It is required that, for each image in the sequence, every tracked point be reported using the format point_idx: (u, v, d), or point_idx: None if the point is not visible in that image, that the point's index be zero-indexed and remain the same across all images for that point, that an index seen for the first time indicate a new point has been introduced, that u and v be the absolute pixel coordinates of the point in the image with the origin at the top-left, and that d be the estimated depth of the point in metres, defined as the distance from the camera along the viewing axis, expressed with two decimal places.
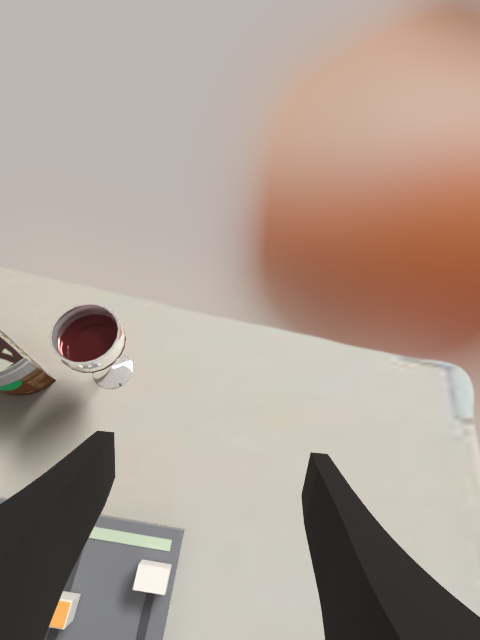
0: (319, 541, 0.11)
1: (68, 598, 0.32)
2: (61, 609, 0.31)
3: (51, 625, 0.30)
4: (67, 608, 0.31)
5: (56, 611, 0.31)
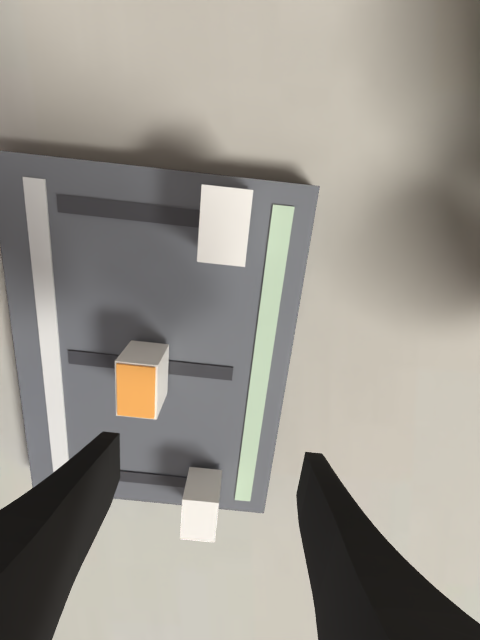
0: (313, 540, 0.11)
1: (159, 403, 0.17)
2: (142, 407, 0.17)
3: (118, 396, 0.17)
4: (145, 413, 0.17)
5: (138, 400, 0.17)
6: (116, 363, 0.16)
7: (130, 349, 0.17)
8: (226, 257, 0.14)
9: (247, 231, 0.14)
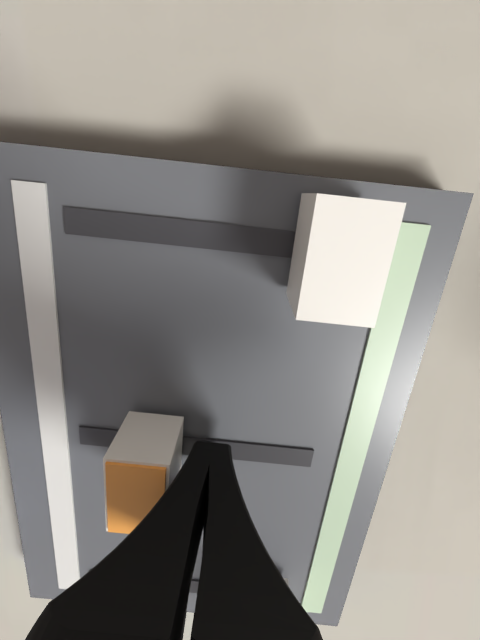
0: (204, 530, 0.11)
1: None
2: None
3: (109, 507, 0.11)
4: None
5: (139, 513, 0.11)
6: (105, 461, 0.10)
7: (127, 430, 0.12)
8: (345, 313, 0.09)
9: (386, 271, 0.08)
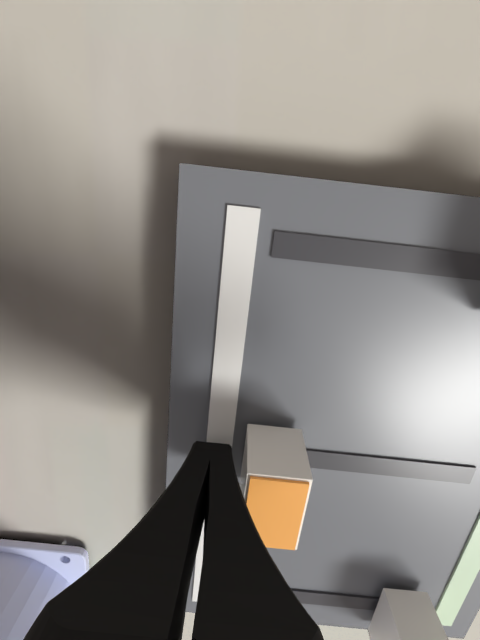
0: (205, 530, 0.11)
1: None
2: (280, 535, 0.11)
3: None
4: (281, 542, 0.11)
5: (276, 526, 0.11)
6: (249, 476, 0.11)
7: (256, 444, 0.12)
8: None
9: None
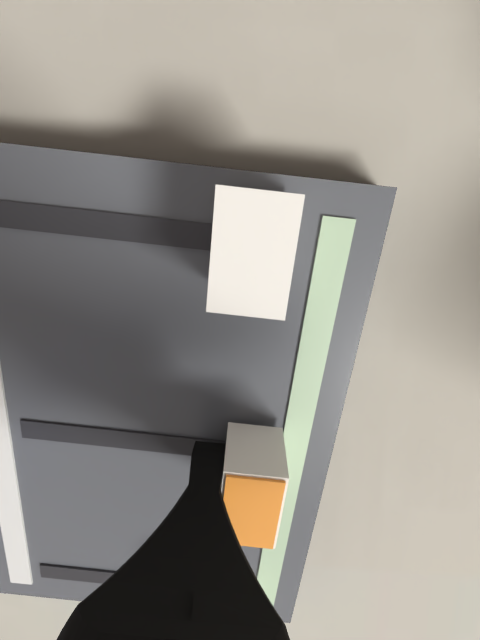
0: None
1: None
2: (257, 534, 0.11)
3: None
4: (260, 540, 0.11)
5: (253, 525, 0.11)
6: (225, 474, 0.10)
7: (235, 442, 0.12)
8: (255, 305, 0.09)
9: (291, 263, 0.08)
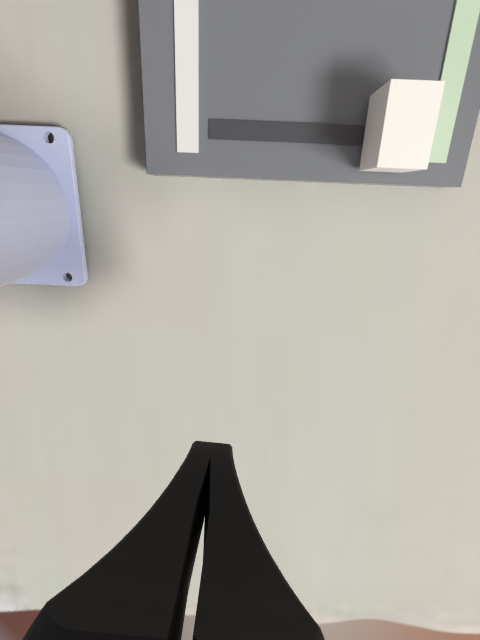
0: (205, 530, 0.11)
1: None
2: None
3: None
4: None
5: None
6: None
7: None
8: None
9: None
